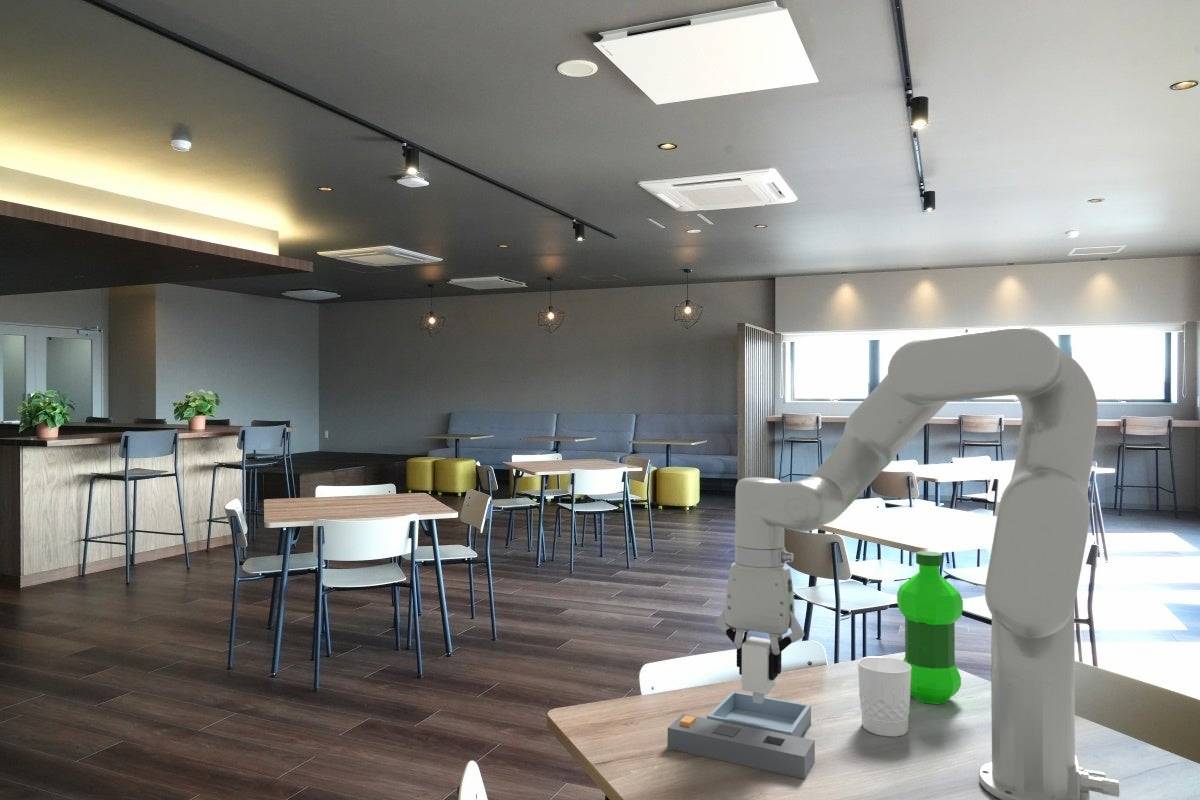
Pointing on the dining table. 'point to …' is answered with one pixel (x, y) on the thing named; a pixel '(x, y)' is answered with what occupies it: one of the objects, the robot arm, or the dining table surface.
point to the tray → (763, 714)
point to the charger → (756, 668)
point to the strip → (743, 745)
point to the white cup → (884, 695)
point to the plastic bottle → (930, 630)
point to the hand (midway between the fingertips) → (758, 673)
